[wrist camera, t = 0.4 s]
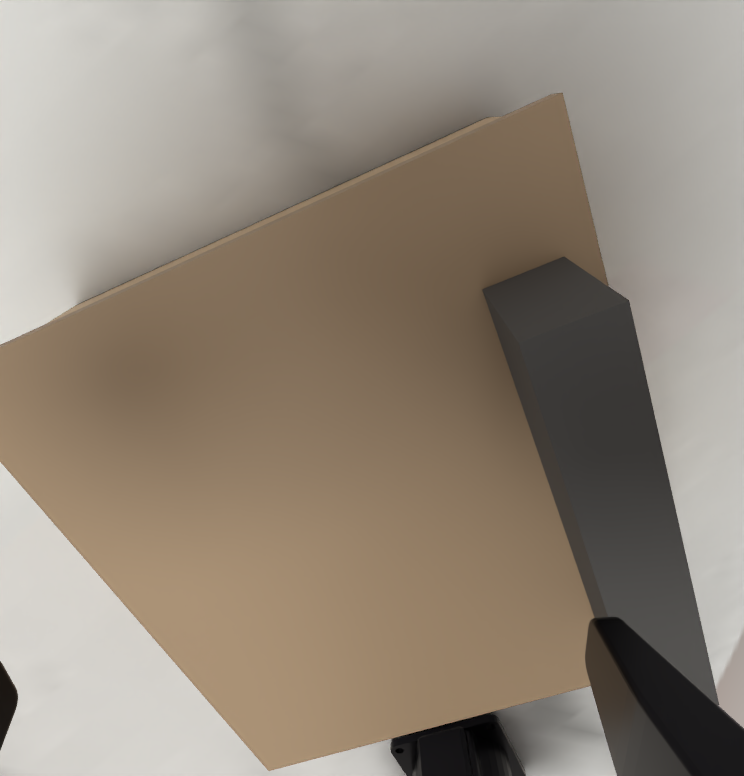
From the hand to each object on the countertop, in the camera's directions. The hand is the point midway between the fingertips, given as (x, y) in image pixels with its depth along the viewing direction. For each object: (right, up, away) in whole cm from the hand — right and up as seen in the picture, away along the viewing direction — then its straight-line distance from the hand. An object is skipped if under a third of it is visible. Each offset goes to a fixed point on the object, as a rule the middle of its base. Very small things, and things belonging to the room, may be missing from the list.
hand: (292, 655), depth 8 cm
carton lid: (+1, 0, +9) cm, 9 cm away
